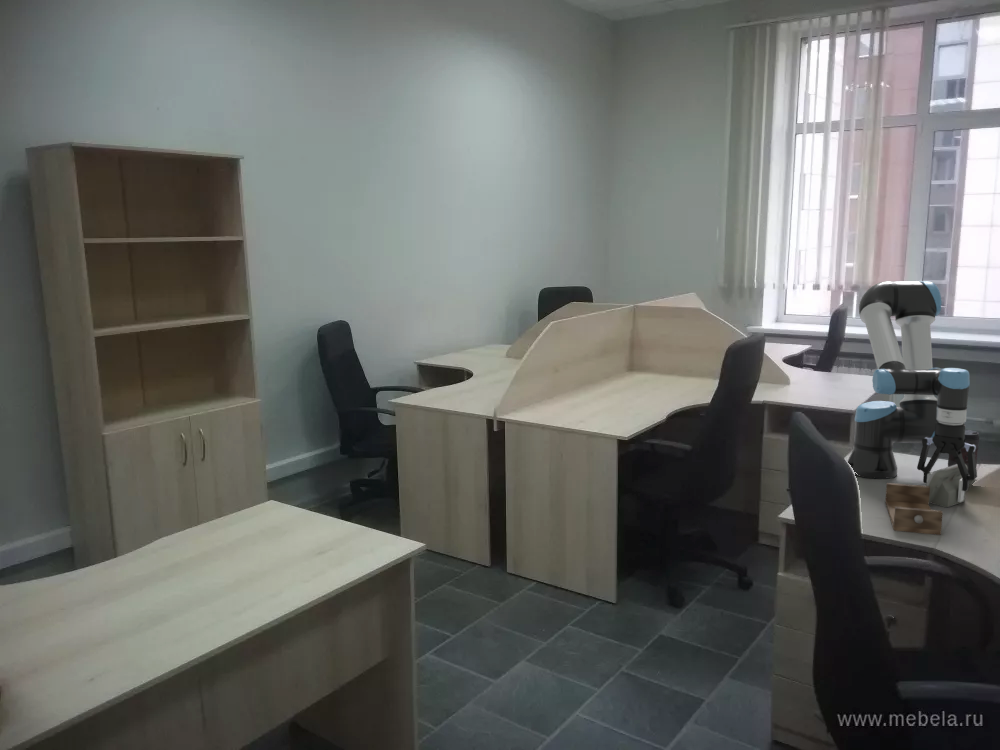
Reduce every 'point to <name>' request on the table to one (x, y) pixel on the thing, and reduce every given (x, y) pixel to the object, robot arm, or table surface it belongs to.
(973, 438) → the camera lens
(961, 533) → the table surface
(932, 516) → the walnut holder
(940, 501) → the digital clock
